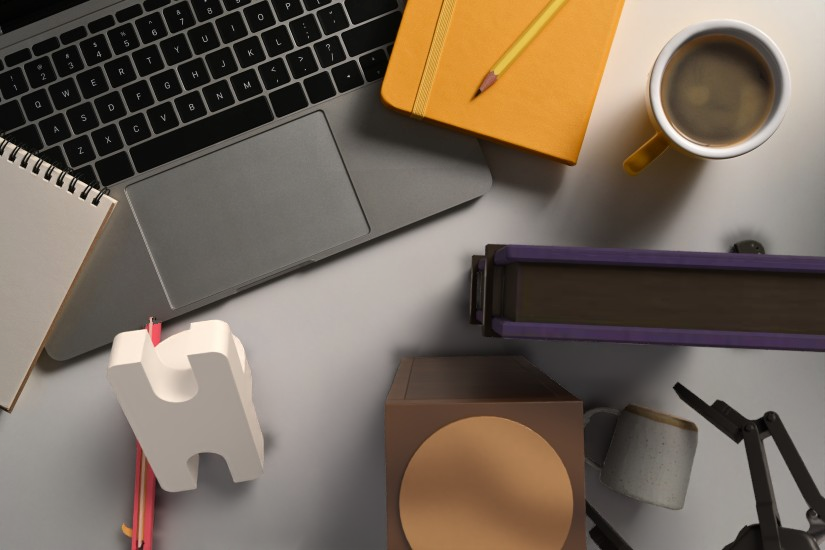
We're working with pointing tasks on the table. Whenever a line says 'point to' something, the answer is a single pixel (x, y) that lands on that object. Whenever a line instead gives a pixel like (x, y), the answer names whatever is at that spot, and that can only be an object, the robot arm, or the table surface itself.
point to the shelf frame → (472, 379)
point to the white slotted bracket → (188, 401)
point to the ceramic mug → (648, 455)
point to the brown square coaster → (485, 474)
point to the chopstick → (144, 483)
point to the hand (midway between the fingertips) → (627, 442)
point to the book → (650, 297)
